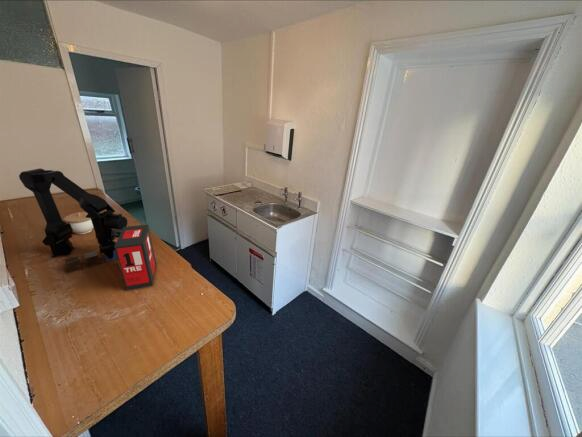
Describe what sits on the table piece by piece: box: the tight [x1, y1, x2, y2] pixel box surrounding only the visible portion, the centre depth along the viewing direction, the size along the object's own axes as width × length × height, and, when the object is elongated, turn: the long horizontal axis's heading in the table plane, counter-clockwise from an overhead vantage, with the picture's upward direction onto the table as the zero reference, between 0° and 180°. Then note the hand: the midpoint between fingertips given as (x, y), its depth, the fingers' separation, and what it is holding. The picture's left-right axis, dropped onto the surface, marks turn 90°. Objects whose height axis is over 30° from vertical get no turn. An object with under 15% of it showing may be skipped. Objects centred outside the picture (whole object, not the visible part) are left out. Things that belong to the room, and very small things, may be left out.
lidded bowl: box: [63, 211, 94, 235], centre depth 127 cm, size 13×13×11 cm
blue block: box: [103, 251, 118, 262], centre depth 108 cm, size 4×4×4 cm
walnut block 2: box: [84, 250, 101, 267], centre depth 104 cm, size 4×4×4 cm
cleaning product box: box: [114, 224, 157, 291], centre depth 96 cm, size 16×9×20 cm, turn 23°
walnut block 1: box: [64, 255, 83, 273], centre depth 100 cm, size 4×4×4 cm
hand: (110, 256), depth 109 cm, fingers closed on blue block, 4 cm apart
